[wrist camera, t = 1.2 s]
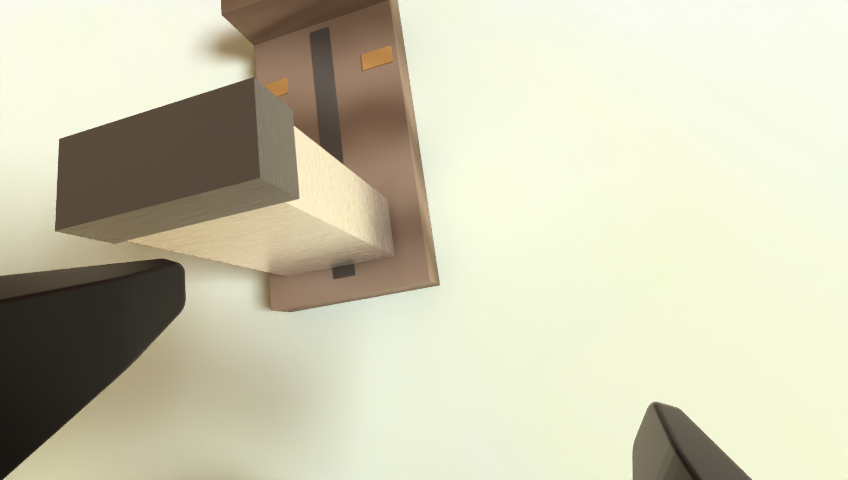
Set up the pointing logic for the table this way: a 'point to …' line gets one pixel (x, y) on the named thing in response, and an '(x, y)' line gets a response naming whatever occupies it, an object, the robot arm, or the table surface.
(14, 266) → the table surface
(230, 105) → the fader tab
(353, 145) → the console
